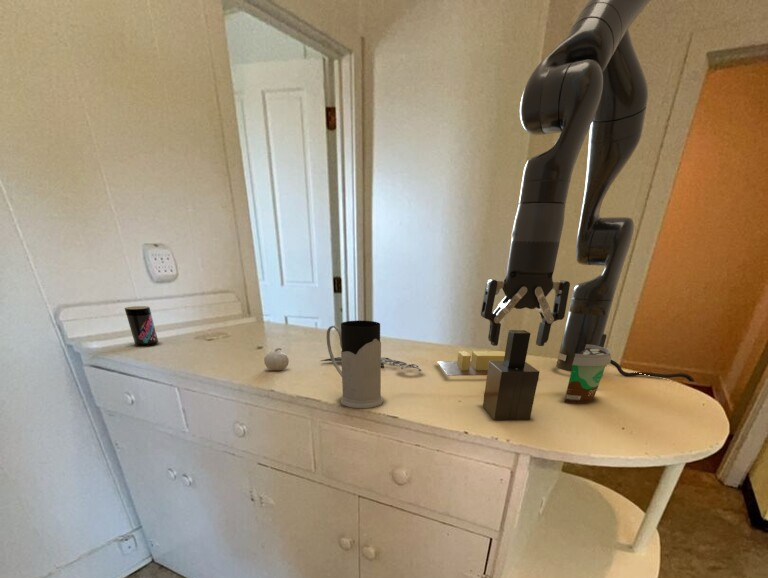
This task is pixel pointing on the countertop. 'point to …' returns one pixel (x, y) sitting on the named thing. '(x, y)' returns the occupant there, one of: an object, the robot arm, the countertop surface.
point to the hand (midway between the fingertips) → (517, 345)
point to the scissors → (385, 361)
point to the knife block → (510, 391)
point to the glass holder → (359, 363)
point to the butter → (485, 358)
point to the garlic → (276, 360)
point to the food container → (587, 374)
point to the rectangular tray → (454, 370)
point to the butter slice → (463, 360)
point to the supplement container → (141, 325)
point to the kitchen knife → (516, 349)
